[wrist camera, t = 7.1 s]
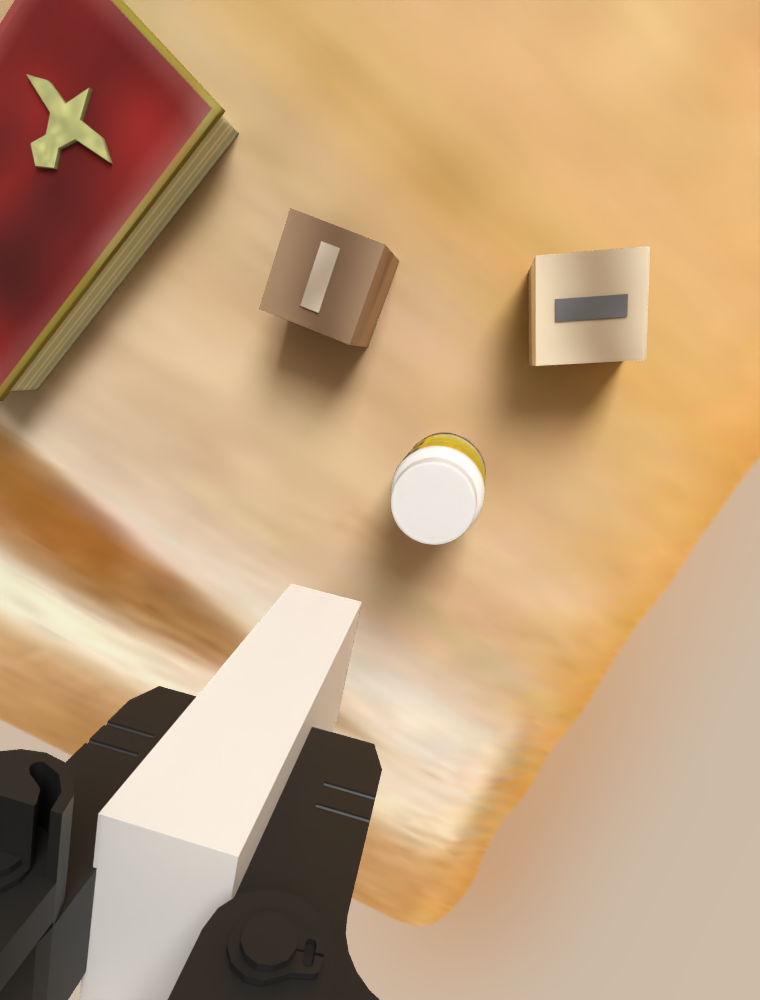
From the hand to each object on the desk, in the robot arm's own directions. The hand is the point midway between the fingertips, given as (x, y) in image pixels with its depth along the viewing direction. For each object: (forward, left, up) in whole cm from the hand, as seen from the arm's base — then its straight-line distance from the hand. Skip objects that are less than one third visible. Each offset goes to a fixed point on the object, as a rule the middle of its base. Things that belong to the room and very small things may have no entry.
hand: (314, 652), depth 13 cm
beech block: (+6, +10, -25) cm, 27 cm away
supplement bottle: (+1, 0, -25) cm, 25 cm away
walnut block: (-7, +9, -25) cm, 27 cm away
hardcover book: (-25, +10, -25) cm, 37 cm away
